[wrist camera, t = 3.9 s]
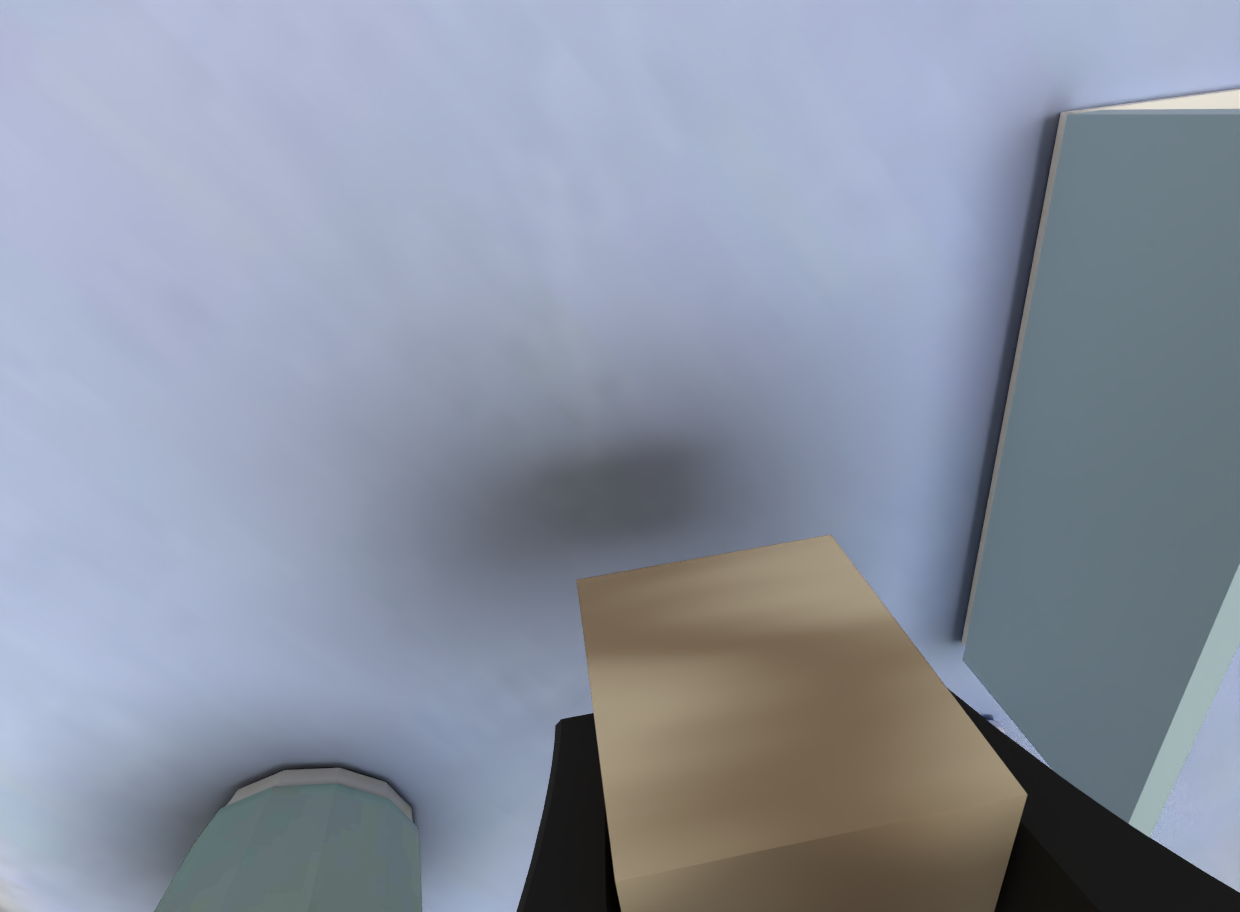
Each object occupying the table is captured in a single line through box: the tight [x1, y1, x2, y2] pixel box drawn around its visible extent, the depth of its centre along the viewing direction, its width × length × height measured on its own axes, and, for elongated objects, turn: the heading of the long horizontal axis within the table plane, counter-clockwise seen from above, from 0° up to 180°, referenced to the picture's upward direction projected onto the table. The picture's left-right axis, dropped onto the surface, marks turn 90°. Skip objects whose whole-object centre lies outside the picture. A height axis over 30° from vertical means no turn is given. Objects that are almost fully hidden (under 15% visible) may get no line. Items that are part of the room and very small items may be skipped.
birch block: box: [577, 535, 1028, 912], centre depth 10 cm, size 4×4×5 cm
